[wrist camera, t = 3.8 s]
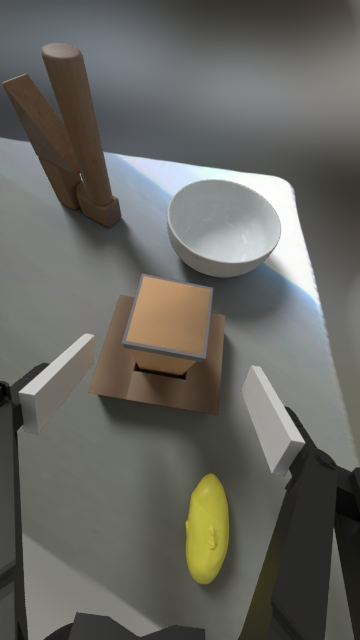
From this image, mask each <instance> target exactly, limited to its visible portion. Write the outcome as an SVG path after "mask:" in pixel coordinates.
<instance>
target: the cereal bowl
mask: <svg viewBox="0 0 360 640" xmlns="http://www.w3.org/2000/svg"><path fill="white" fill-rule="evenodd" d="M167 229H168V235H169V239H170V242H171V244H172V247H173V248H174V250H175V252H176V253H177V255H178V256H179V257H180V258H181V260H183V261H184V263H186V264H187V265H188V266H190V267H191V268H193V269H195V270H197V271H198V272H201V273H203V274H206V275H209V276H214V277H234V276H238V275H242V274H245V273H247V272H250V271H251V270H253V269H255V268H256V267H258V266H259V265H260V264H262V262H264V261H265V260H266V258H267V257H269V255H270V254H271V253H272V251H273V250H274V249H275V247H276V245H277V244H278V241H279V239H280V235H281V224H280V220H279V217H278V215H277V213H276V211H275V210H274V208H273V207H272V206H271V204H270V203H269V202H268V201H267V200H266V199H265V198H263V197H262V196H261V195H260V194H258V193H257V192H255V191H253V190H252V189H250V188H248V187H246V186H243V185H241V184H238V183H234V182H231V181H226V180H215V179H210V180H201V181H197V182H194V183H191V184H189V185H187V186H185V187H183V188H182V189H180V190H179V191H178V192H177V193H176V194H175V195H174V197H173V198H172V200H171V201H170V204H169V206H168V211H167Z"/></svg>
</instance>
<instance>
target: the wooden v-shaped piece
mask: <svg viewBox="0 0 360 640" xmlns="http://www.w3.org/2000/svg"><path fill="white" fill-rule="evenodd" d="M42 58H43V60H44V64H45V66H46V70H47V73H48V76H49V79H50V82H51V85H52V88H53V91H54V94H55V97H56V100H57V103H58V106H59V109H60V112H61V115H62V118H63V121H64V123H63V122H62V121H61V119H60V118H59V117H58V115H57V114H56V113H55V111H54V110H53V108H52V107H51V106H50V104H49V103H48V102H47V100H46V99H45V98H44V96H43V95H42V94H41V92H40V91H39V89H38V88H37V87H36V85H35V84H34V83H33V81H32V80H31V79H30V77H29V76H28V75H27V74H24V75H21V76H18V77H16V78H13V79H10V80H8V81H5V82H3V83H2V84H3V87H4V89H5V91H6V93H7V95H8V97H9V99H10V101H11V103H12V105H13V107H14V109H15V111H16V113H17V116H18V118H19V120H20V122H21V124H22V126H23V128H24V130H25V132H26V134H27V136H28V138H29V140H30V142H31V144H32V146H33V149H34V151H35V153H36V155H37V156H39V157H38V158H39V160H40V163H41V165H42V167H43V169H44V171H45V173H46V175H47V177H48V179H49V181H50V183H51V185H52V187H53V189H54V192H55V194H56V196H57V198H58V200H59V201H60V202H61V203H62V204H64V205H66V206H68V207H70V208H72V209H74V210H76V209H78V208H79V207H80V206H81V209H82V211H83V214H84V215H85V216H87V217H89V218H91V219H93V220H95V221H97V222H99V223H100V224H102V225H104V226H106V227H108V228H110V227H111V226H112V225H114V224H115V223H116V222H117V221H118V220H119V219H120V218H121V212H120V206H119V201H118V199H117V198H116V197H114V196H112V192H111V187H110V183H109V178H108V173H107V168H106V164H105V159H104V154H103V149H102V145H101V140H100V135H99V130H98V126H97V121H96V117H95V112H94V107H93V102H92V97H91V93H90V88H89V83H88V78H87V73H86V69H85V64H84V60H83V55H82V53H81V52H80V50H79V49H77V48H75V47H74V46H71V45H69V44H64V43H50V44H47V45H45V46H43V47H42ZM64 124H65V125H64ZM79 173H81V176H82V179H83V181H82V180H81V177H80V174H79Z"/></svg>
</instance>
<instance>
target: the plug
mask: <svg viewBox="0 0 360 640" xmlns="http://www.w3.org/2000/svg"><path fill="white" fill-rule="evenodd" d="M212 295H213V288H212V287H207V286H202V285H197V284H192V283H187V282H182V281H177V280H172V279H167V278H162V277H157V276H153V275H148V274H143V273H142V275H141V278H140V281H139V285H138V288H137V292H136V295H135V299H134V302H133V306H132V309H131V313H130V316H129V320H128V323H127V327H126V330H125V334H124V337H123V341H122V345H123V346H124V348H127V349H130V350H131V352H132V354H133V356H134V358H135V360H136V362H137V365H138V367H139V369H140V371H142V372H148V373H154V374H159V375H165V376H170V377H176V378H179V377H180V376H181V375H182V374H184V373H185V372H186V371H187V370H188V369H189V368H190V367H191V366H192V365H193V364H194V363H195V362H196V361H198V362H202V361H204V360H205V359H206V352H207V342H208V333H209V323H210V314H211V304H212Z"/></svg>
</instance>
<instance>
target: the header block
mask: <svg viewBox="0 0 360 640" xmlns="http://www.w3.org/2000/svg"><path fill="white" fill-rule="evenodd" d="M134 299H135V298H134V297H129V296H124V295H120V296H119V299H118V302H117V305H116V308H115V311H114V314H113V317H112V320H111V323H110V327H109V330H108V333H107V336H106V339H105V342H104V345H103V348H102V351H101V354H100V357H99V360H98V363H97V367H96V370H95V373H94V376H93V379H92V382H91V385H90V388H89V391H88V393H92V394H98V395H104V396H109V397H115V398H121V399H127V400H133V401H139V402H145V403H150V404H156V405H162V406H168V407H174V408H180V409H185V410H191V411H197V412H203V413H209V414H215V415H218V411H219V397H220V383H221V369H222V355H223V341H224V327H225V315H221V314H216V313H211V314H210V323H209V333H208V342H207V352H206V359H205V360H204V361H202V362H198V361H196V362H195V363H194V364H193V365H192V366H191V367H190V368H189V369H188V370H187V371H186V372H185V373H184V374H183V379H177V378H172V377H166V376H160V375H155V374H149V373H144V372H138V371H137V368H138V365H137V362H136V360H135V358H134V356H133V354H132V352H131V350H130V349H127V348H124V346H123V345H122V341H123V337H124V334H125V330H126V327H127V323H128V320H129V316H130V313H131V309H132V306H133V302H134Z"/></svg>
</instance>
